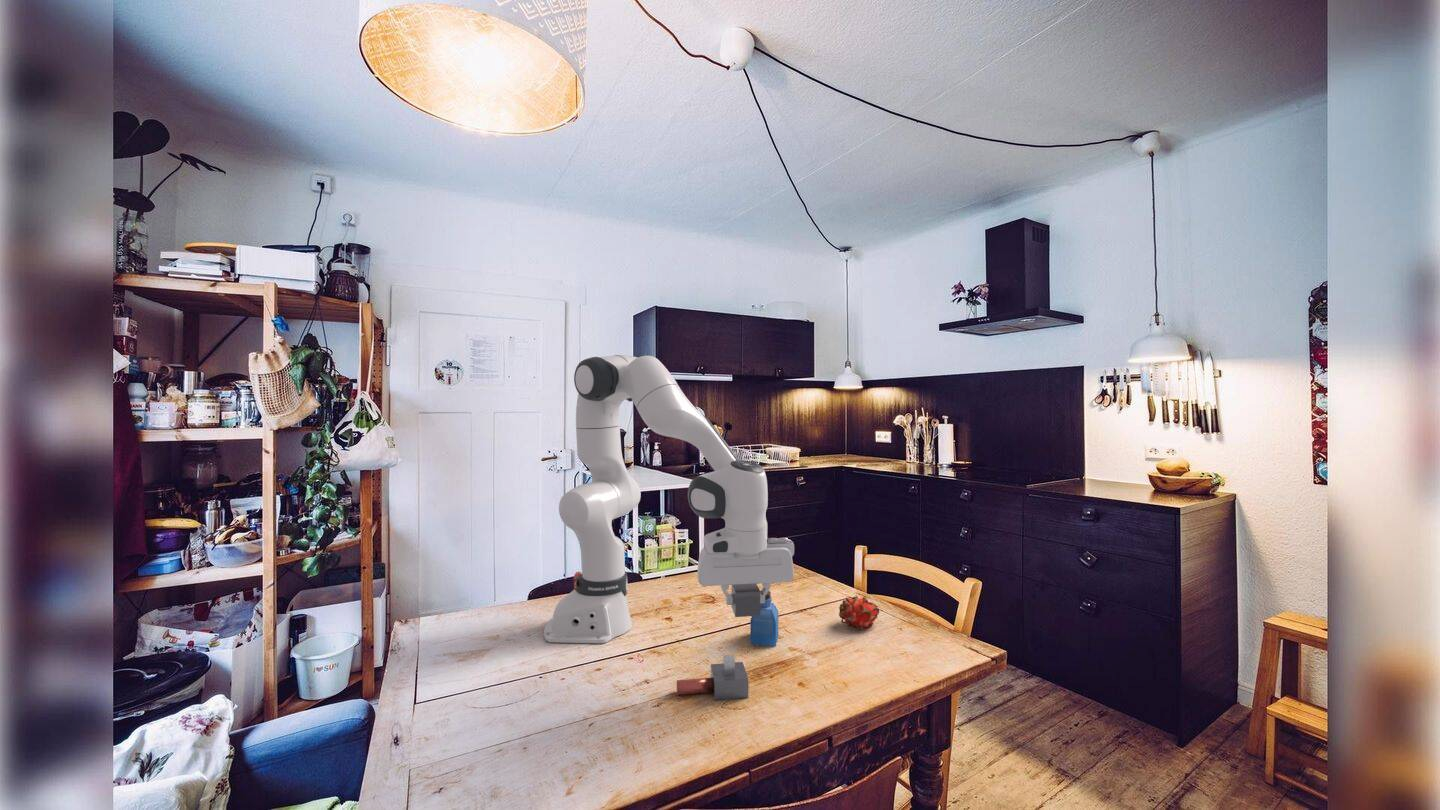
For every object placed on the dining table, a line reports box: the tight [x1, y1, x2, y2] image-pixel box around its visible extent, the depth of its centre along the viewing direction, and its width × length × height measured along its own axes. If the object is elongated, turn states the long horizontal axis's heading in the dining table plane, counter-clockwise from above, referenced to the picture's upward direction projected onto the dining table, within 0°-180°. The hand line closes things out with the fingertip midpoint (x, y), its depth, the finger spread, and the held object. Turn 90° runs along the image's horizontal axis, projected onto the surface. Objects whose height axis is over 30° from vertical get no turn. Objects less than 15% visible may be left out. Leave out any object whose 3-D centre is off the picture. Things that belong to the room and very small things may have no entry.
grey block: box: [730, 584, 761, 618], centre depth 123 cm, size 5×5×5 cm
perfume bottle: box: [749, 590, 779, 647], centre depth 145 cm, size 6×6×12 cm
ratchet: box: [676, 654, 749, 701], centre depth 123 cm, size 14×7×7 cm, turn 97°
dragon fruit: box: [838, 595, 880, 631], centre depth 153 cm, size 8×8×12 cm
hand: (745, 603), depth 124 cm, fingers closed on grey block, 5 cm apart
